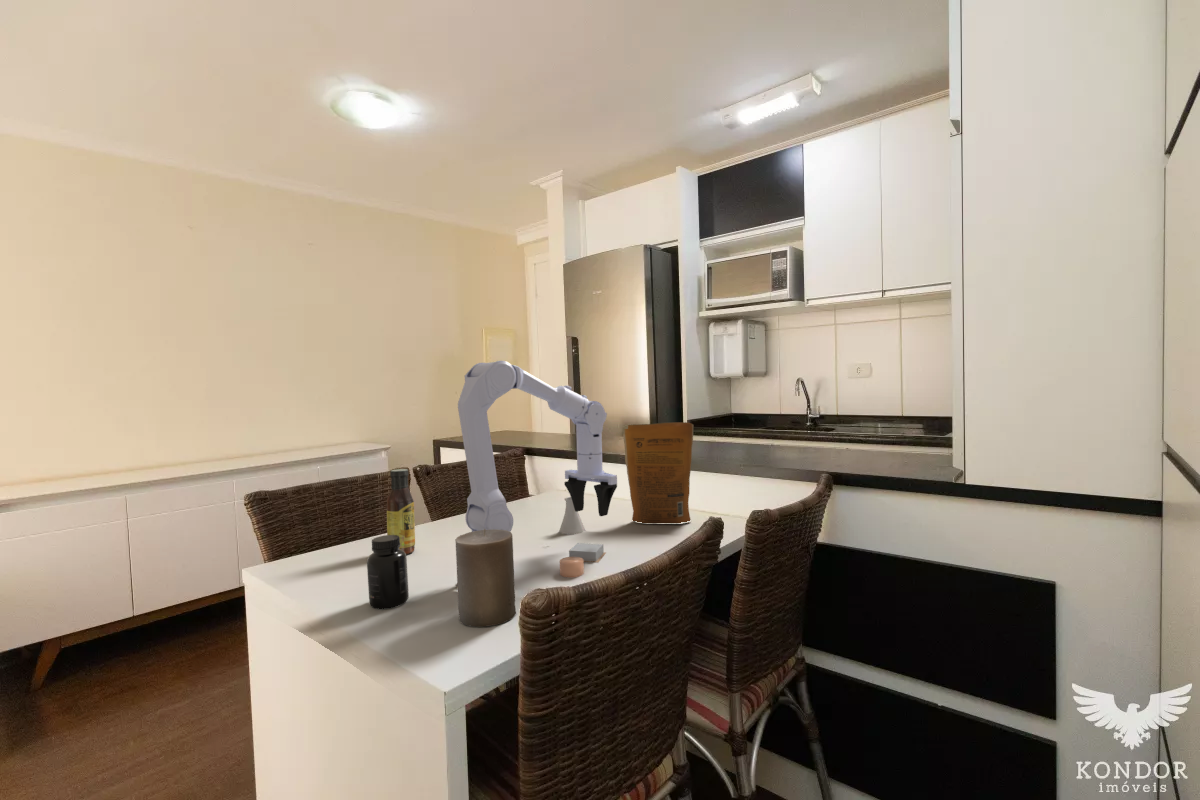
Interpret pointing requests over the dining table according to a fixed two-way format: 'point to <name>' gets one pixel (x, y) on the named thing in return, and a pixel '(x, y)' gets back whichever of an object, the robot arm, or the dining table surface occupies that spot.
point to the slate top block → (587, 551)
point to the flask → (571, 520)
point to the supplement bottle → (387, 573)
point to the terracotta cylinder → (571, 567)
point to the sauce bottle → (401, 511)
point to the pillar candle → (485, 577)
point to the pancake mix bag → (659, 470)
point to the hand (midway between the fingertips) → (591, 513)
